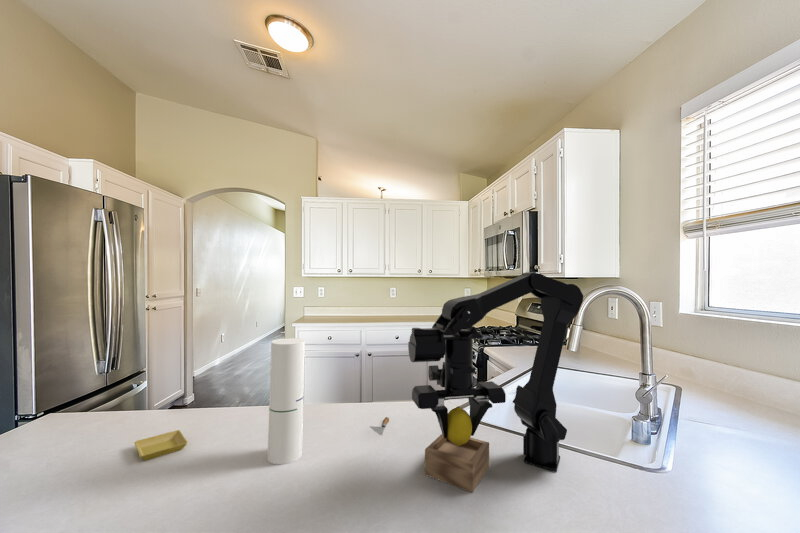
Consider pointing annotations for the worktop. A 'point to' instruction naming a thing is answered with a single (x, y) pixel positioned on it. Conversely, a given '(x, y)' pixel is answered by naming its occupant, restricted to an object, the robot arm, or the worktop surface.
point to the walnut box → (457, 462)
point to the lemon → (459, 426)
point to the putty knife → (380, 429)
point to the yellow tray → (160, 445)
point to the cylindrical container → (286, 400)
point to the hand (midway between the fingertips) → (458, 436)
